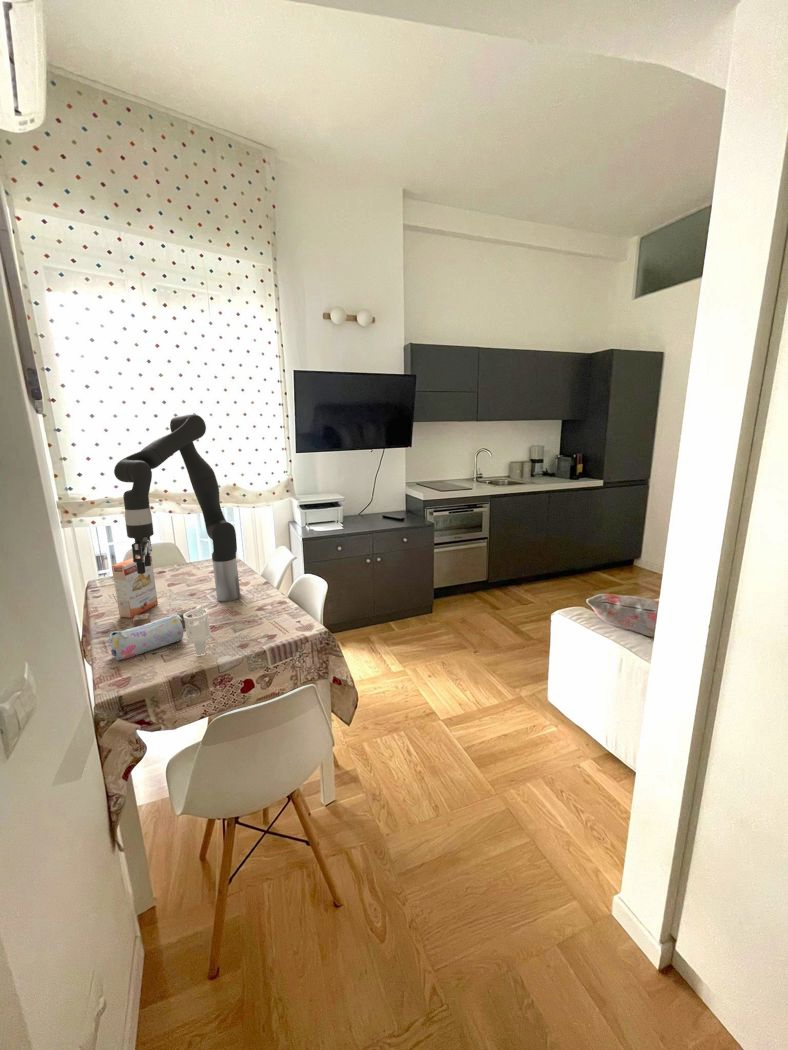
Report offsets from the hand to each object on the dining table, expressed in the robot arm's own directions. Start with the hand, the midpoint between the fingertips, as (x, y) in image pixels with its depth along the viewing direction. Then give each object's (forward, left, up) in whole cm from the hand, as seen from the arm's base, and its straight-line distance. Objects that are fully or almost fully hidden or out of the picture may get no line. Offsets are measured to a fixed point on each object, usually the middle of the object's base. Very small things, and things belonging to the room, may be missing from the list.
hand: (144, 569), depth 143 cm
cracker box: (+9, -26, -24) cm, 37 cm away
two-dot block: (-9, -6, -24) cm, 27 cm away
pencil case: (0, +10, -24) cm, 26 cm away
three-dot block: (+5, -8, -24) cm, 26 cm away
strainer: (-16, +20, -24) cm, 35 cm away
